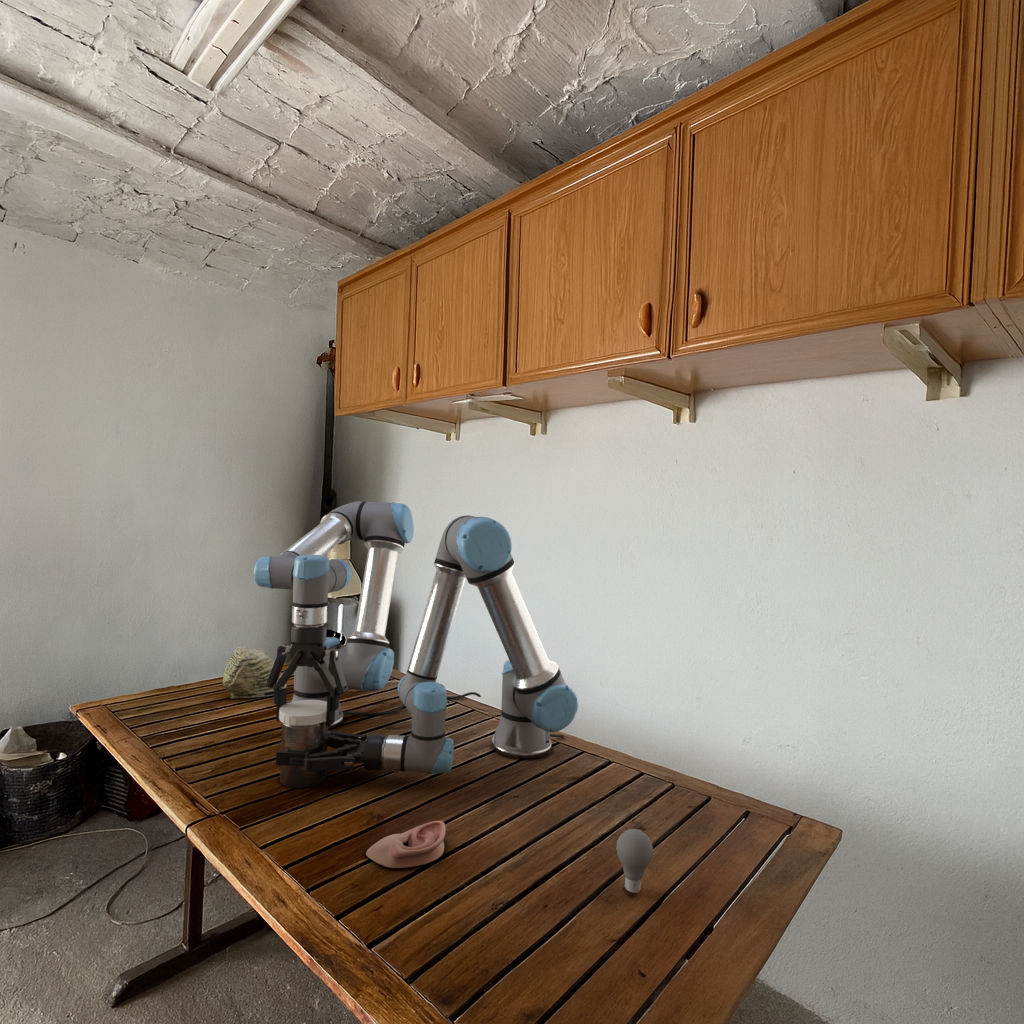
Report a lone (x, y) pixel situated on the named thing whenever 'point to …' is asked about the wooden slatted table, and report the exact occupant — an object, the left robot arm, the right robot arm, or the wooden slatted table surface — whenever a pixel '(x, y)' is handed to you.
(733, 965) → the wooden slatted table surface
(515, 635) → the right robot arm
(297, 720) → the lid
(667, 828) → the wooden slatted table surface
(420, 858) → the anatomical model
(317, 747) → the jar
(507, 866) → the wooden slatted table surface
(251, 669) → the fossil
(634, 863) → the light bulb
